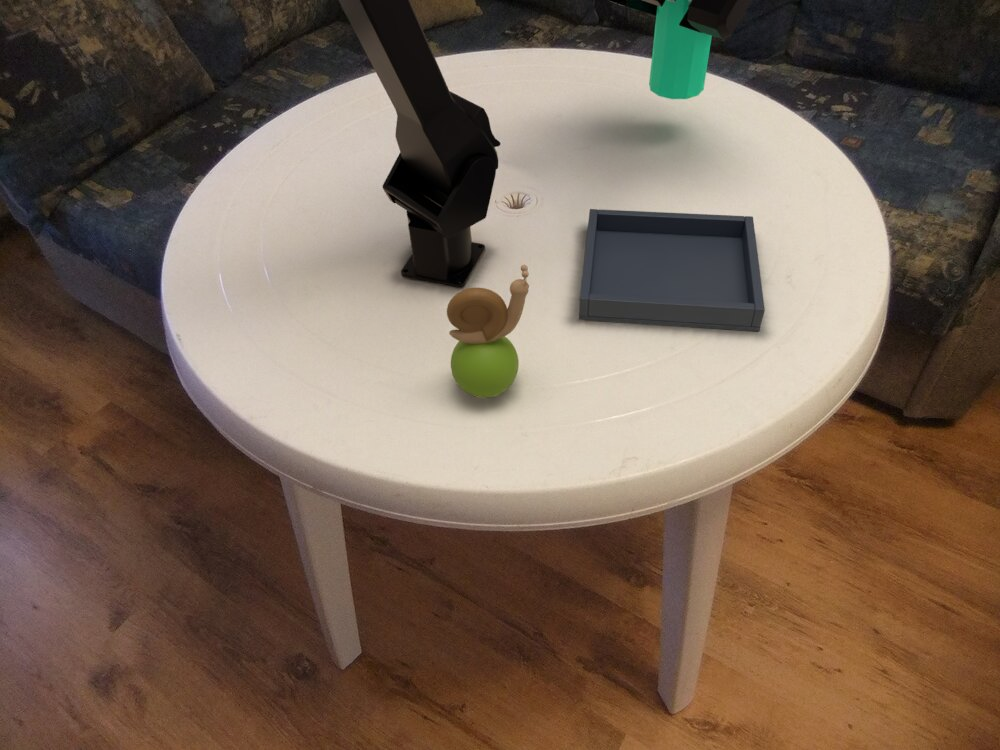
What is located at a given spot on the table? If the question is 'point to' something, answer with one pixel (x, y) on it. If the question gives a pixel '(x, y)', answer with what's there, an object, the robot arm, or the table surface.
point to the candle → (677, 54)
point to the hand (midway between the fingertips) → (692, 23)
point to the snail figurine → (485, 338)
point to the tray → (671, 270)
